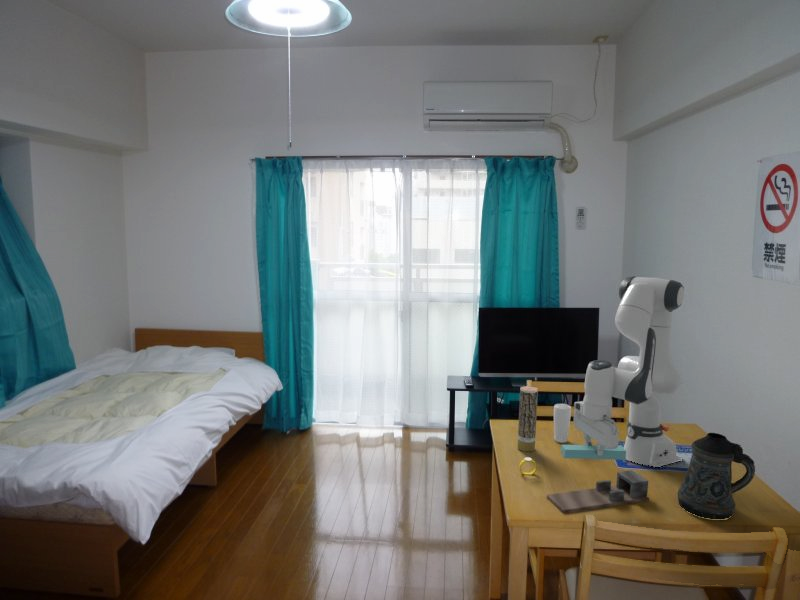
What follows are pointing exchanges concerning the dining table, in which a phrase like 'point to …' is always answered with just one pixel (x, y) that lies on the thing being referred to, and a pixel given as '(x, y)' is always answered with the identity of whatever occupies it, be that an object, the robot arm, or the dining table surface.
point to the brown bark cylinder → (527, 418)
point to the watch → (527, 461)
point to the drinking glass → (561, 422)
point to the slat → (591, 452)
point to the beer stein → (713, 477)
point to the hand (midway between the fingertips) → (593, 450)
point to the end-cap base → (604, 494)
